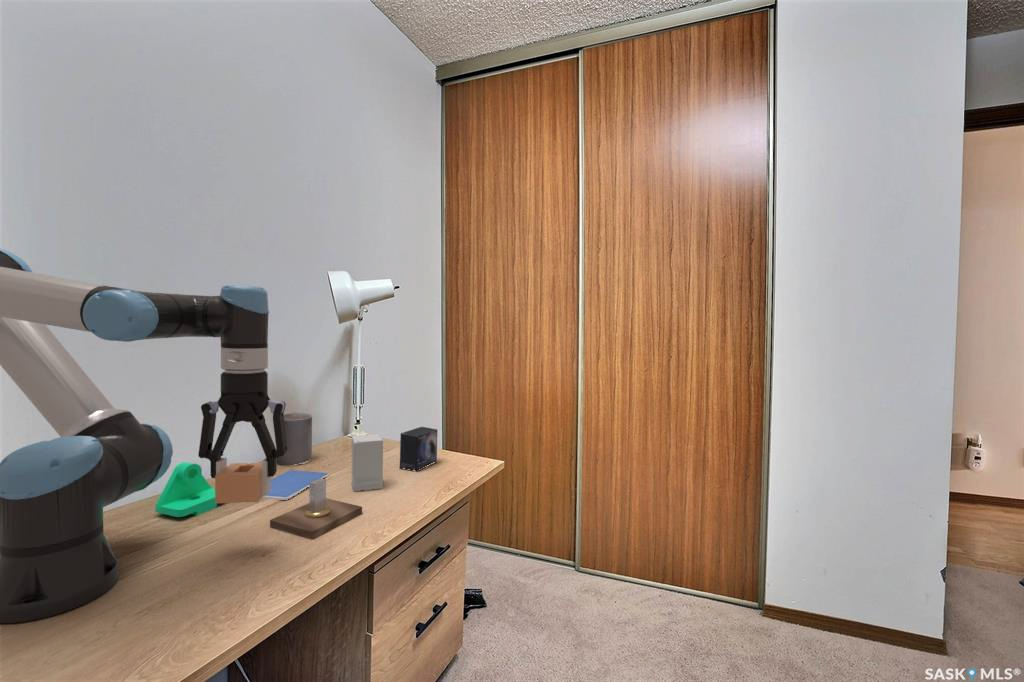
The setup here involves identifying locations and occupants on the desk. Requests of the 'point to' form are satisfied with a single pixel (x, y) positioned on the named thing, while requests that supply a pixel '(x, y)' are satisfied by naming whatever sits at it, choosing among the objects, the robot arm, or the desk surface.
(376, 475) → the supplement box
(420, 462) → the small box
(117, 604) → the desk surface
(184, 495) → the camera mount
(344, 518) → the base
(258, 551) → the desk surface
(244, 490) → the tan square frame
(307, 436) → the pillar candle
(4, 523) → the robot arm
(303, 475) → the blue felt tray
